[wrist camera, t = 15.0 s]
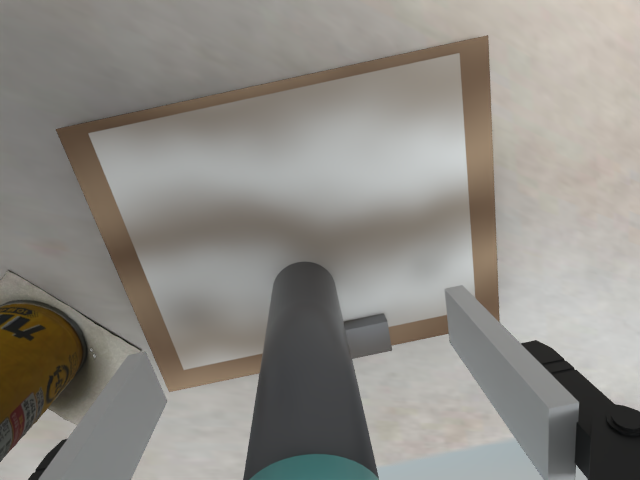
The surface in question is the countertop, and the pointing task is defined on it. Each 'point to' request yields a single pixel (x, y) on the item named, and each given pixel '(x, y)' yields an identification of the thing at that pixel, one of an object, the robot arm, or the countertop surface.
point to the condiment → (49, 359)
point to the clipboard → (299, 204)
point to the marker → (307, 388)
